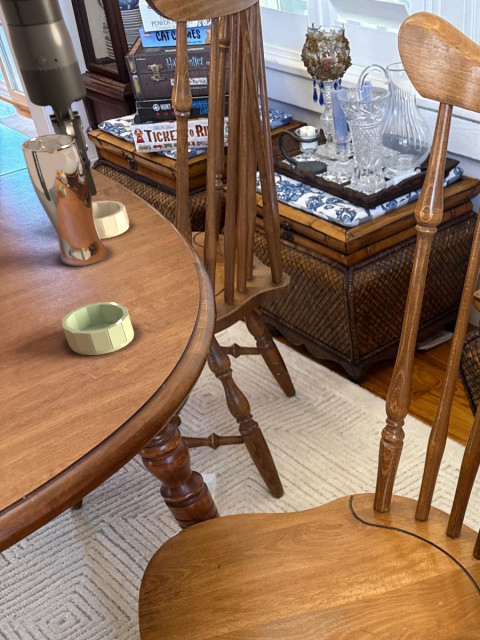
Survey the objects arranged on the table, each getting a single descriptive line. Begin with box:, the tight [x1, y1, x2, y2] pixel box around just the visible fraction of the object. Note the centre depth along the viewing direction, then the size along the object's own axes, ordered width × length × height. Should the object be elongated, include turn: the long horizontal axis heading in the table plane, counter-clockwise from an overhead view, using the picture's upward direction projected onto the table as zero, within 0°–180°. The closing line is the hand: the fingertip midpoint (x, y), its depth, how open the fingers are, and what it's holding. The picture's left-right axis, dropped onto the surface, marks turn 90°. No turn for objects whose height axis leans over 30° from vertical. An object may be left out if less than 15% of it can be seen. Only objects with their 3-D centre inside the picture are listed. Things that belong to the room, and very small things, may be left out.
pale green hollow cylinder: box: [61, 301, 135, 356], centre depth 91 cm, size 7×7×3 cm
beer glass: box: [20, 133, 107, 267], centre depth 104 cm, size 7×7×15 cm
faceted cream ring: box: [92, 200, 130, 240], centre depth 115 cm, size 7×7×3 cm
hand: (86, 186), depth 115 cm, fingers open, 8 cm apart
